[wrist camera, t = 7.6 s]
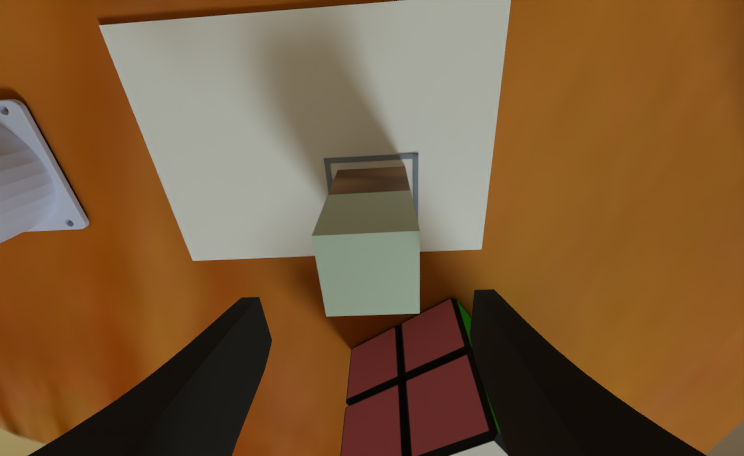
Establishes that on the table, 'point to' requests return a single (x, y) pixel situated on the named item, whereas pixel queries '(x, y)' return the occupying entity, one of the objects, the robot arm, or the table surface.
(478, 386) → the puzzle cube
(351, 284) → the sage block
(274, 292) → the table surface
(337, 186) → the walnut block
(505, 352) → the robot arm
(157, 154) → the board
